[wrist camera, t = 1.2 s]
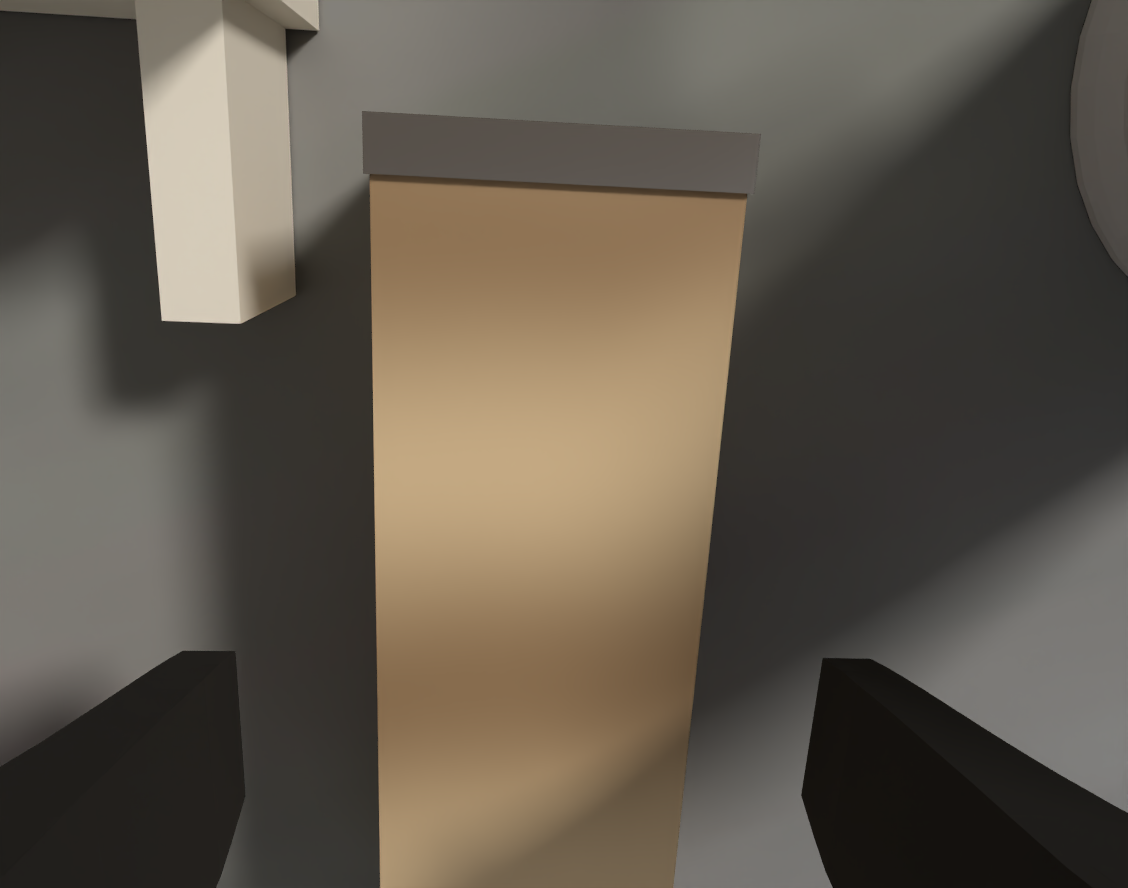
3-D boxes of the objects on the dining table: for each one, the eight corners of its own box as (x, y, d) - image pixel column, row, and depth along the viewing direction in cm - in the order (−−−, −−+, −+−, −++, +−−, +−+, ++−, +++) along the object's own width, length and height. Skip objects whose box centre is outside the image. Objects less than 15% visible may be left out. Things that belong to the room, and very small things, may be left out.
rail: (614, 863, 18) (653, 1118, 13) (416, 863, 18) (379, 1124, 13) (673, 152, 14) (761, 134, 9) (416, 138, 14) (362, 110, 9)
